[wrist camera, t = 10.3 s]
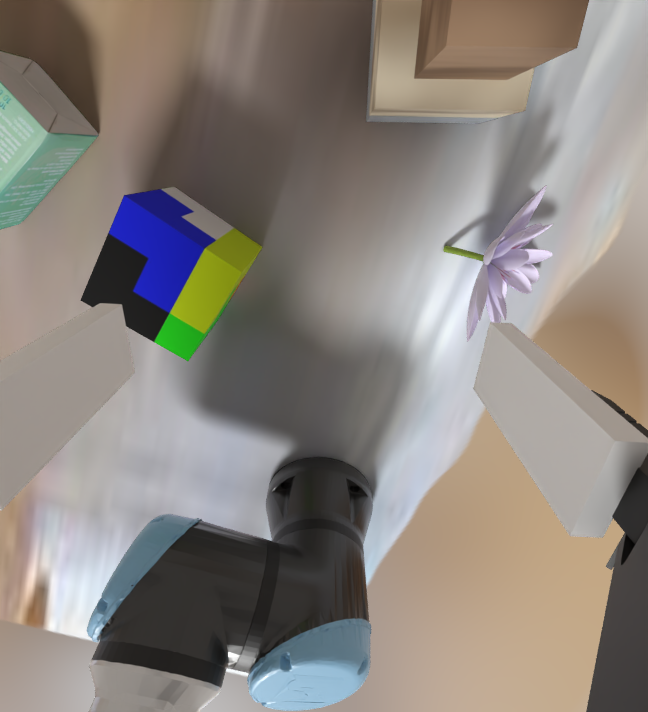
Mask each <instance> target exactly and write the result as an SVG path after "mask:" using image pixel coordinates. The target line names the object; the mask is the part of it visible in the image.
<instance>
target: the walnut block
mask: <svg viewBox="0 0 648 712" xmlns="http://www.w3.org/2000/svg"><path fill="white" fill-rule="evenodd" d="M588 2H589V0H422V6H421V16H420V25H419V35H418V45H417V55H416V64H415V74H414V79H473V80H508V79H510V78H512V77H515V76H517V75H519V74H521V73H523V72H525V71H528V70H530V69H532V68H534V67H536V66H538V65H541V64H543V63H545V62H547V61H549V60H551V59H554V58H556V57H558V56H560V55H562V54H565V53H567V52H569V51H571V50H573V49H575V48H577V46H578V42H579V38H580V34H581V30H582V26H583V22H584V18H585V14H586V10H587V6H588Z"/></svg>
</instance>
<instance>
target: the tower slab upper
mask: <svg viewBox="0 0 648 712" xmlns="http://www.w3.org/2000/svg"><path fill="white" fill-rule="evenodd" d="M421 6H422V0H376V11H375V27H374V43H373V59H372V75H371V91H370V108H369V116H415V117H466V118H499V117H503V116H507V115H511V114H515V113H519V112H523V111H525V109H526V105H527V100H528V96H529V91H530V86H531V82H532V77H533V73H534V68H535V67H534V68H532V69H530V70H528V71H525V72H523V73H521V74H519V75H517V76H515V77H512V78H510V79H508V80H473V79H414V74H415V64H416V55H417V45H418V35H419V25H420V16H421Z"/></svg>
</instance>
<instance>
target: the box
mask: <svg viewBox="0 0 648 712" xmlns="http://www.w3.org/2000/svg"><path fill="white" fill-rule="evenodd" d="M97 137H98V133H97V131H96V130H95V129H94V128H93V126H92V125H91V124H90V123H89V122H88V121H87V119H86V118H85V117H84V116H83V115H82V114H81V112H80V111H79V110H78V109H77V108H76V107H75V105H74V104H73V103H72V102H71V101H70V100H69V98H68V97H67V96H66V95H65V94H64V93H63V91H62V90H61V89H60V88H59V87H58V86H57V85H56V83H55V82H54V81H53V80H52V79H51V78H50V77H49V76H48V75H47V73H46V72H45V71H44V70H43V69H42V68H41V67H40V66H39V65H38V64H37V63H36V62H34V61H33V60H31V59H29V58H25V57H22V56H18V55H15V54H11V53H8V52H4V51H1V50H0V229H3V228H7V227H11V226H14V225H17V224H20V223H21V222H22V221H24V220H25V219H26V218H27V217H28V215H29V214H30V213H31V212H32V211H33V210H34V209H35V208H36V206H37V205H38V204H39V203H40V202H41V201H42V200H43V199H44V197H45V196H46V195H47V194H48V193H49V192H50V191H51V189H52V188H53V187H54V186H55V185H56V184H57V182H58V181H59V180H60V179H61V178H62V177H63V176H64V175H65V174H66V173H67V171H68V170H69V169H70V168H71V167H72V166H73V165H74V164H75V162H76V161H77V160H78V159H79V158H80V157H81V155H82V154H83V153H84V152H85V151H86V150H87V149H88V147H89V146H90V145H91V144H92V143H93V142H94V140H95V139H96V138H97Z"/></svg>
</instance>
